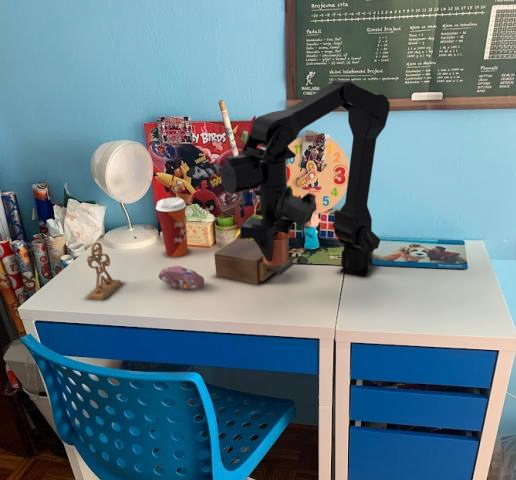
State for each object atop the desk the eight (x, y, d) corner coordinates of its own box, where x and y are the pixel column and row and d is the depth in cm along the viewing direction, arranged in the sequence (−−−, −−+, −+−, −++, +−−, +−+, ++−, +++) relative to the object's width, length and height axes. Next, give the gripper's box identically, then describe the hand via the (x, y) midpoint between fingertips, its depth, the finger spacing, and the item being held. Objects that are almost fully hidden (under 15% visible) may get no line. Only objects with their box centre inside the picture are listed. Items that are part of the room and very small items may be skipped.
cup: (293, 257, 127) (292, 233, 124) (281, 267, 123) (280, 242, 120) (270, 253, 129) (269, 230, 127) (258, 263, 125) (257, 239, 123)
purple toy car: (163, 292, 140) (153, 273, 135) (170, 277, 142) (160, 258, 137) (200, 296, 137) (192, 278, 131) (207, 281, 139) (198, 262, 134)
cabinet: (278, 267, 145) (278, 244, 142) (257, 284, 137) (256, 260, 134) (238, 260, 150) (237, 238, 147) (216, 276, 143) (214, 253, 139)
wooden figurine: (107, 282, 143) (97, 235, 137) (121, 283, 142) (112, 236, 136) (88, 298, 136) (77, 250, 130) (103, 300, 135) (92, 251, 129)
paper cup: (186, 258, 153) (179, 206, 146) (158, 258, 155) (150, 206, 147) (195, 247, 160) (189, 196, 152) (168, 246, 161) (161, 196, 154)
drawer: (297, 268, 142) (296, 252, 140) (279, 284, 135) (278, 267, 133) (245, 259, 148) (244, 243, 146) (225, 274, 142) (224, 257, 139)
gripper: (288, 201, 107) (290, 279, 115) (328, 174, 121) (327, 245, 129) (235, 195, 112) (241, 270, 120) (280, 170, 126) (282, 239, 134)
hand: (275, 256), depth 126 cm, fingers closed on cup, 5 cm apart
